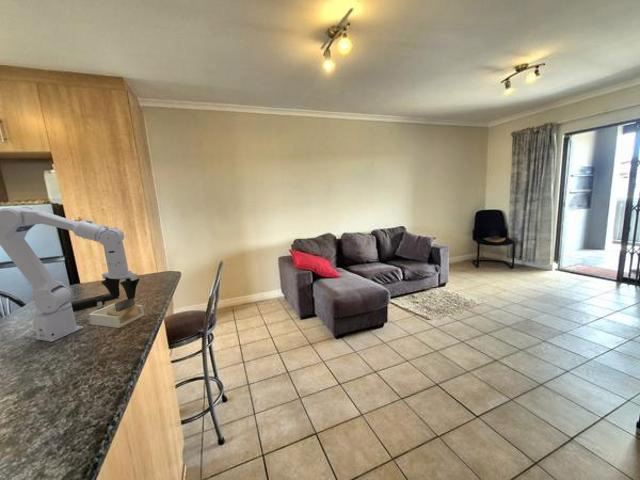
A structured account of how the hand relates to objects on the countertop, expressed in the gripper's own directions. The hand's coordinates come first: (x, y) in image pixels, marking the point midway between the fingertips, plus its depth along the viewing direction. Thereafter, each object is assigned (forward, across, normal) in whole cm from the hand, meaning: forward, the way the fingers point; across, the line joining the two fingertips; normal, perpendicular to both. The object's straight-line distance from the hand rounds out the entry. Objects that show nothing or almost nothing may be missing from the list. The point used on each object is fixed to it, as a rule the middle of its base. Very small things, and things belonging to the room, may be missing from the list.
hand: (123, 297), depth 98 cm
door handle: (+10, +30, -7) cm, 32 cm away
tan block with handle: (+8, +2, 0) cm, 8 cm away
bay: (+9, +5, 0) cm, 11 cm away
